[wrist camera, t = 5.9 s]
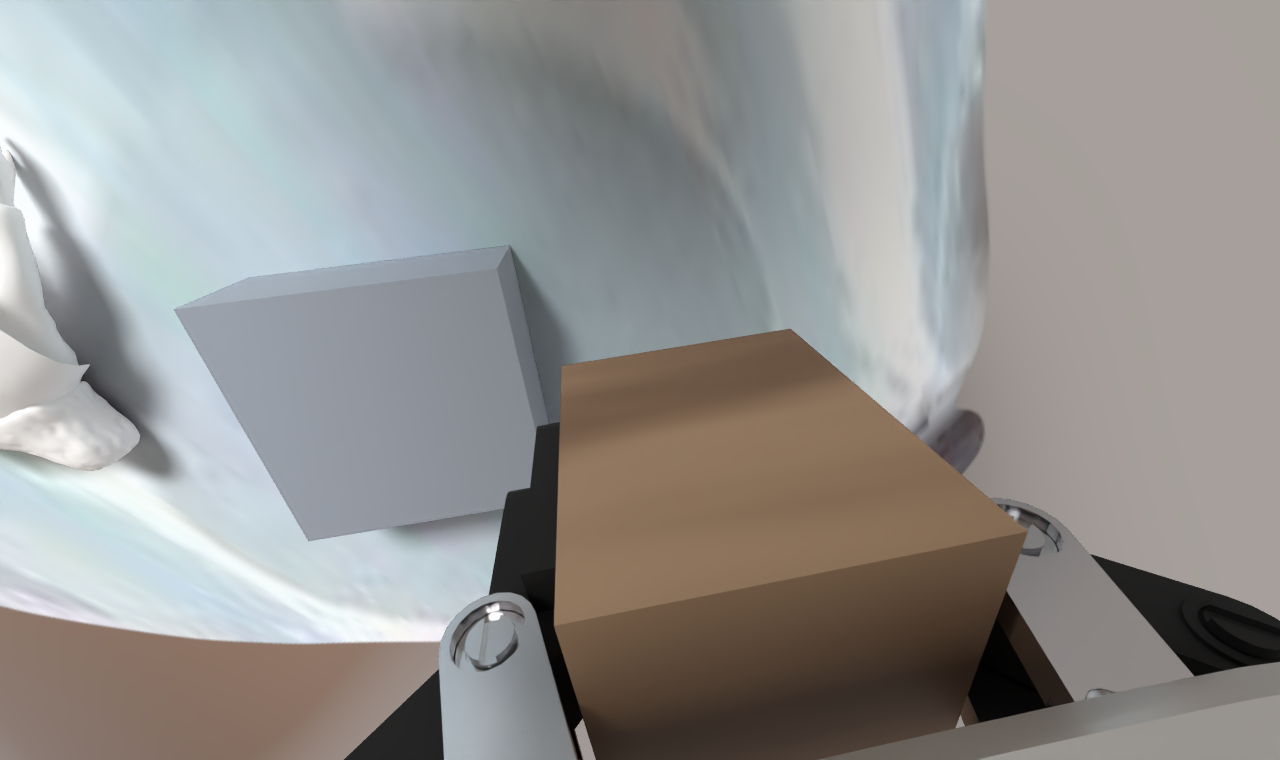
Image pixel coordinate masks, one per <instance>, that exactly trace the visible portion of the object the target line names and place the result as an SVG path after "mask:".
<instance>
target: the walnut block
mask: <svg viewBox="0 0 1280 760" xmlns="http://www.w3.org/2000/svg"><path fill="white" fill-rule="evenodd" d="M1027 534H1028V531H1027V530H1026V529H1025V528H1024V527H1022V526H1021V525H1020V524H1019V523H1018V522H1017V521H1015V520H1014V519H1013V518H1012V517H1011V516H1009V515H1008V514H1007V513H1006V512H1005V511H1004V510H1002V509H1001V508H1000V507H999V506H998V505H997V504H995V503H994V502H993V501H992V500H991V499H990V498H988V497H987V496H986V495H985V494H984V493H982V492H981V491H980V490H979V489H977V487H975V486H974V485H973V484H972V483H971V482H969V481H968V480H967V479H966V478H965V477H964V476H963V475H961V474H960V473H959V472H958V471H957V470H955V469H954V468H953V467H952V466H951V465H950V464H948V463H947V462H946V461H945V460H944V459H943V458H941V457H940V456H939V455H938V454H937V453H936V452H934V451H933V450H932V449H931V448H930V447H928V446H927V445H926V444H925V443H924V442H923V441H921V440H920V439H919V438H918V437H917V436H916V435H914V434H913V433H912V432H911V431H910V430H909V429H907V428H906V427H905V426H904V425H903V424H901V423H900V422H899V421H898V420H897V419H896V418H894V417H893V416H892V415H891V414H890V413H889V412H887V411H886V410H885V409H884V408H883V407H882V406H880V405H879V404H878V403H877V402H876V401H875V400H873V399H872V398H871V397H870V396H869V395H867V394H866V393H865V392H864V391H863V390H862V389H860V388H859V387H858V386H857V385H856V384H855V383H853V382H852V381H851V380H850V379H849V378H848V377H846V376H845V375H844V374H843V373H842V372H840V371H839V370H838V369H837V368H836V367H835V366H833V365H832V364H831V363H830V362H829V361H828V360H826V359H825V358H824V357H823V356H822V355H821V354H819V353H818V352H817V351H816V350H815V349H813V348H812V347H811V346H810V345H809V344H808V343H806V342H805V341H804V340H803V339H802V338H801V337H799V336H798V335H797V334H796V333H795V332H794V331H792V330H791V329H786V330H780V331H774V332H768V333H761V334H755V335H749V336H743V337H737V338H731V339H724V340H718V341H712V342H706V343H700V344H694V345H687V346H681V347H675V348H669V349H663V350H657V351H650V352H644V353H638V354H632V355H626V356H620V357H613V358H607V359H601V360H595V361H589V362H583V363H576V364H570V365H564V366H562V370H561V404H560V438H559V471H558V505H557V539H556V572H555V606H554V628H555V631H556V634H557V637H558V640H559V644H560V647H561V650H562V653H563V656H564V659H565V663H566V666H567V669H568V672H569V675H570V679H571V682H572V685H573V688H574V691H575V694H576V698H577V701H578V704H579V707H580V710H581V714H582V717H583V720H584V723H585V726H586V729H587V733H588V736H589V739H590V742H591V745H592V748H593V752H594V755H595V758H596V760H819V759H823V758H828V757H832V756H837V755H841V754H845V753H850V752H854V751H858V750H863V749H867V748H872V747H876V746H880V745H885V744H889V743H894V742H898V741H902V740H907V739H911V738H916V737H920V736H924V735H929V734H933V733H938V732H942V731H946V730H951V729H955V727H956V724H957V722H958V719H959V716H960V714H961V711H962V708H963V706H964V703H965V700H966V698H967V695H968V692H969V690H970V687H971V684H972V682H973V679H974V676H975V674H976V671H977V668H978V665H979V663H980V660H981V657H982V655H983V652H984V649H985V647H986V644H987V641H988V639H989V636H990V633H991V630H992V628H993V625H994V622H995V620H996V617H997V614H998V612H999V609H1000V606H1001V604H1002V601H1003V598H1004V595H1005V593H1006V590H1007V587H1008V585H1009V582H1010V579H1011V577H1012V574H1013V571H1014V569H1015V566H1016V563H1017V560H1018V558H1019V555H1020V552H1021V550H1022V547H1023V544H1024V542H1025V539H1026V536H1027Z"/></svg>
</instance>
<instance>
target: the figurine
mask: <svg viewBox="0 0 1280 760" xmlns="http://www.w3.org/2000/svg"><path fill="white" fill-rule="evenodd" d="M15 177H16V173H15V164H14V162H13V159H12V157H11V154H10V153H9V151H8V150H7V149H5V148H4V149H3V150H1V147H0V449H3V450H13V451H21V452H26V453H29V454H33V455H36V456H39V457H43V458H46V459H48V460H50V461H53V462H55V463H58V464H62V465H66V466H69V467H72V468H75V469H80V470H90V471H93V470H97V469H98V470H99V469H101V468H103V467H105V466H107V465H110V464H111V463H115V462H117V461H119V460H120V459H121V458H122V457H123V456H125V455H126V454H128V453H129V452H130V451H131V450H132V448H133V447H135V446H136V445H137V444H138V442H139V439H140V437H141V436H140V434H139V432H138V430H137V429H136V427H135V426H134V424H133V423H132V422H130V421H129V420H128V419H127V418H126V417H124V416H123V415H122V414H121V413H119V412H118V411H116V410H115V409H114V408H113V407H112V406H110V405H109V403H107V401H106V400H105V399H104V398H102V397H101V396H99V395H98V394H97V393H96V392H95V391H94V390H93V389H92V387H90V385H89V384H88V383H87V382H86V381H81V378H82V376H83V374H84V373H85V371H86V370H87V368H88V367H89V366H90V364H85V365H80V366H79V365H78V361H77V357H76V354H75V352H74V351H73V350H72V349H71V348H70V346H69V345H68V344H67V343H66V342H65V341H64V340H63V339H62V337H61V336H60V334H59V332H58V331H57V328H56V324H55V321H54V320H53V318H52V317H51V316H50V314H49V313H48V311H47V309H46V308H45V306H44V297H43V291H42V286H41V281H40V276H39V271H38V266H37V263H36V260H35V257H34V254H33V251H32V248H31V245H30V242H29V239H28V236H27V233H26V227H25V219H24V217H23V214H22V211H21V210H19V209H18V208H16V207H14V186H15Z"/></svg>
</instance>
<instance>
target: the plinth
mask: <svg viewBox="0 0 1280 760" xmlns="http://www.w3.org/2000/svg"><path fill="white" fill-rule="evenodd" d="M174 311H175V313H176V314H177V316H178V318H179V319H180V321H181V323H182V325H183V326H184V328H185V330H186V331H187V333H188V335H189V337H190V338H191V340H192V342H193V343H194V345H195V347H196V349H197V350H198V352H199V354H200V356H201V357H202V359H203V361H204V362H205V364H206V366H207V368H208V369H209V371H210V373H211V374H212V376H213V378H214V380H215V381H216V383H217V385H218V386H219V388H220V390H221V392H222V393H223V395H224V397H225V399H226V400H227V402H228V404H229V405H230V407H231V409H232V411H233V412H234V414H235V416H236V417H237V419H238V421H239V423H240V424H241V426H242V428H243V429H244V431H245V433H246V435H247V436H248V438H249V440H250V442H251V443H252V445H253V447H254V448H255V450H256V452H257V454H258V455H259V457H260V459H261V460H262V462H263V464H264V466H265V467H266V469H267V471H268V472H269V474H270V476H271V478H272V479H273V481H274V483H275V484H276V486H277V488H278V490H279V491H280V493H281V495H282V497H283V498H284V500H285V502H286V503H287V505H288V507H289V509H290V510H291V512H292V514H293V515H294V517H295V519H296V521H297V522H298V524H299V526H300V527H301V529H302V531H303V533H304V534H305V536H306V538H307V540H308V541H313V540H319V539H325V538H331V537H337V536H343V535H349V534H355V533H361V532H367V531H373V530H379V529H385V528H391V527H397V526H403V525H409V524H415V523H421V522H428V521H434V520H440V519H446V518H452V517H458V516H464V515H470V514H476V513H482V512H488V511H494V510H500V509H504V506H505V500H506V496H507V493H508V492H509V491H515V490H520V489H526V488H530V484H531V475H532V466H533V456H534V447H535V438H536V429H537V426H541V425H547V424H549V420H548V416H547V411H546V407H545V402H544V398H543V393H542V389H541V384H540V379H539V375H538V370H537V366H536V361H535V357H534V352H533V348H532V343H531V338H530V334H529V329H528V325H527V320H526V316H525V311H524V307H523V302H522V298H521V293H520V288H519V284H518V279H517V275H516V270H515V266H514V261H513V257H512V252H511V248H510V245H508V246H499V247H491V248H483V249H475V250H467V251H459V252H451V253H443V254H435V255H427V256H419V257H411V258H403V259H395V260H386V261H378V262H370V263H362V264H354V265H346V266H338V267H330V268H322V269H314V270H306V271H298V272H290V273H282V274H274V275H265V276H257V277H249V278H247V279H244V280H242V281H239V282H237V283H235V284H232V285H230V286H228V287H225V288H223V289H221V290H218V291H216V292H214V293H211V294H209V295H206V296H204V297H202V298H199V299H197V300H195V301H192V302H190V303H188V304H185V305H183V306H181V307H178V308H176V309H174Z"/></svg>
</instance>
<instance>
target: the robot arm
mask: <svg viewBox="0 0 1280 760" xmlns="http://www.w3.org/2000/svg"><path fill="white" fill-rule="evenodd" d="M559 438H560V422H559V423H553V424H547V425H541V426H537V429H536V438H535V447H534V456H533V466H532V475H531V484H530V488H526V489H520V490H515V491H509V492H508V493H507V496H506V500H505V506H504V511H503V517H502V523H501V529H500V534H499V540H498V546H497V551H496V557H495V563H494V569H493V574H492V580H491V586H490V592H489V595H488V596H484V597H482V598H480V599H478V600H476V601H475V602H473V603H471V604H469V605H468V606H467V607H465V608H464V609H463V610H462V611H461V612H460V613H458V614H457V615H456V616H455V618H454V619H453V620H452V622H451V623H450V624H449V626H448V627H447V628H446V630H445V633H444V635H443V637H442V639H441V642H440V649H439V656H438V657H439V670H437V671H436V672H435V673H434V674H433V675H432V676H431V677H430V678H429V679H428V680H427V681H426V682H425V683H424V684H423V685H422V686H421V687H420V688H419V689H418V690H416V691H415V692H414V693H413V694H412V695H411V696H410V697H409V698H408V699H407V700H406V701H405V702H404V703H403V704H402V705H401V706H400V707H399V708H398V709H397V710H396V711H394V712H393V713H392V714H391V715H390V716H389V717H388V718H387V719H386V720H385V721H384V722H383V723H382V724H381V725H380V726H379V727H378V728H377V729H376V730H375V731H374V732H372V733H371V734H370V735H369V736H368V737H367V739H365V740H364V741H363V742H362V743H361V744H360V745H359V746H358V747H357V748H356V749H355V750H354V751H353V752H352V753H350V754H349V755H348V756H347V757H346V758H345V759H344V760H583V756H582V753H581V749H580V746H579V742H578V739H577V735H576V732H575V728H576V727H577V725H578V724H579V723H580V721H581V720H582V719H583V717H582V714H581V710H580V707H579V704H578V701H577V698H576V694H575V691H574V688H573V685H572V682H571V679H570V675H569V672H568V669H567V666H566V663H565V659H564V656H563V653H562V650H561V647H560V644H559V640H558V637H557V634H556V631H555V628H554V606H555V572H556V539H557V505H558V471H559ZM990 499H991V500H992V501H993V502H994V503H995V504H997V505H998V506H999V507H1000V508H1001V509H1002V510H1004V511H1005V512H1006V513H1007V514H1008V515H1009V516H1011V517H1012V518H1013V519H1014V520H1015V521H1017V522H1018V523H1019V524H1020V525H1021V526H1022V527H1024V528H1025V529H1026V530H1027V531H1028V534H1027V536H1026V539H1025V542H1024V544H1023V547H1022V550H1021V552H1020V555H1019V558H1018V560H1017V563H1016V566H1015V569H1014V571H1013V574H1012V577H1011V579H1010V582H1009V585H1008V587H1007V590H1006V593H1005V595H1004V598H1003V601H1002V604H1001V606H1000V609H999V612H998V614H997V617H996V620H995V622H994V625H993V628H992V630H991V633H990V636H989V639H988V641H987V644H986V647H985V649H984V652H983V655H982V657H981V660H980V663H979V665H978V668H977V671H976V674H975V676H974V679H973V682H972V684H971V687H970V690H969V692H968V695H967V698H966V700H965V703H964V706H963V708H962V711H961V714H960V715H961V717H962V720H963V722H964V724H965V726H964V727H960V728H955V729H951V730H946V731H942V732H938V733H933V734H929V735H924V736H920V737H916V738H911V739H907V740H902V741H898V742H894V743H889V744H885V745H880V746H876V747H872V748H867V749H863V750H858V751H854V752H850V753H845V754H841V755H837V756H832V757H828V758H823V759H819V760H1280V621H1279V620H1277V619H1276V618H1274V617H1272V616H1270V615H1268V614H1267V613H1265V612H1263V611H1261V610H1259V609H1257V608H1255V607H1253V606H1251V605H1248V604H1245V603H1243V602H1240V601H1238V600H1235V599H1232V598H1229V597H1227V596H1224V595H1221V594H1217V593H1214V592H1211V591H1207V590H1205V589H1201V588H1198V587H1195V586H1192V585H1188V584H1185V583H1182V582H1179V581H1175V580H1172V579H1169V578H1166V577H1162V576H1159V575H1156V574H1153V573H1149V572H1146V571H1143V570H1139V569H1136V568H1133V567H1130V566H1127V565H1124V564H1120V563H1117V562H1114V561H1111V560H1107V559H1104V558H1101V557H1098V556H1094V555H1091V554H1089V553H1088V552H1087V550H1085V548H1084V547H1083V546H1082V545H1081V543H1080V542H1079V541H1078V540H1077V539H1076V538H1075V537H1074V535H1073V534H1072V533H1071V532H1070V531H1069V530H1068V529H1067V528H1066V527H1065V526H1064V525H1063V524H1062V523H1061V522H1060V521H1058V520H1057V519H1056V518H1054V517H1052V516H1051V515H1049V514H1048V513H1046V512H1044V511H1043V510H1041V509H1038V508H1036V507H1033V506H1031V505H1029V504H1026V503H1023V502H1019V501H1015V500H1011V499H1003V498H990Z"/></svg>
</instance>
